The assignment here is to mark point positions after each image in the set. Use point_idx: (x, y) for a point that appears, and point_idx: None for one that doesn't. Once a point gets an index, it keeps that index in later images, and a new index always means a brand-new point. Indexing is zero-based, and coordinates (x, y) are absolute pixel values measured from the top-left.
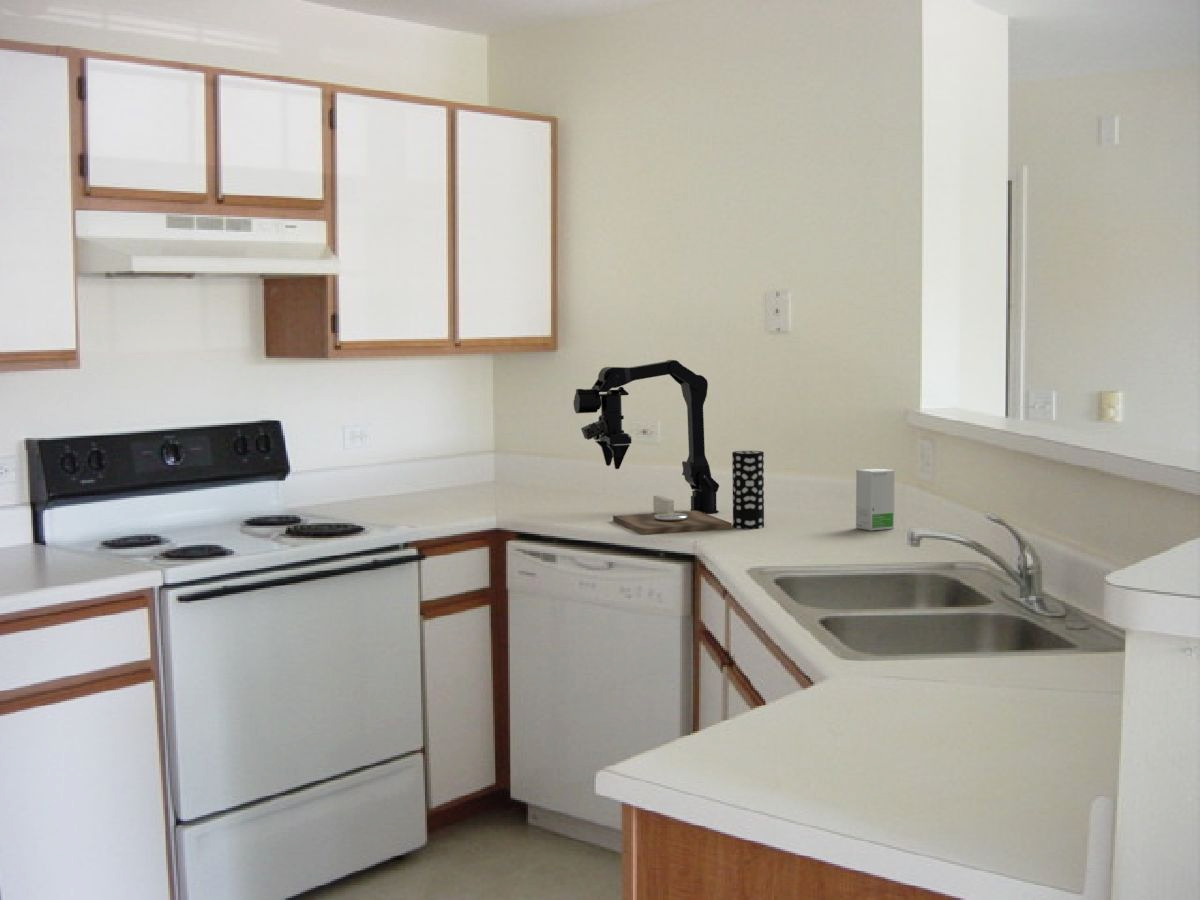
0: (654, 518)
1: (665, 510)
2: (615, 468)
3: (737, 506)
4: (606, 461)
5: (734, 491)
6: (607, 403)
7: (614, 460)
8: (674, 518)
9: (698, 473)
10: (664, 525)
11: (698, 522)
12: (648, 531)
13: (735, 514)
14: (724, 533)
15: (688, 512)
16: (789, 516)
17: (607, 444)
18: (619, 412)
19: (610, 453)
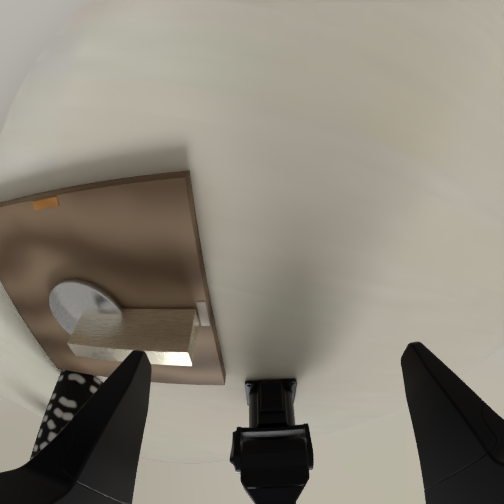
0: (80, 279)
1: (93, 322)
2: (131, 352)
3: (53, 397)
4: (422, 368)
5: (50, 420)
6: None
7: (86, 402)
8: (52, 310)
9: (239, 466)
10: (10, 270)
11: (54, 336)
12: None
13: (61, 386)
14: (19, 335)
15: (198, 368)
16: (180, 434)
17: (468, 496)
18: None
19: (429, 440)
